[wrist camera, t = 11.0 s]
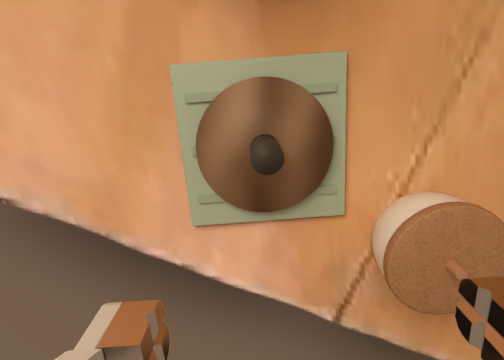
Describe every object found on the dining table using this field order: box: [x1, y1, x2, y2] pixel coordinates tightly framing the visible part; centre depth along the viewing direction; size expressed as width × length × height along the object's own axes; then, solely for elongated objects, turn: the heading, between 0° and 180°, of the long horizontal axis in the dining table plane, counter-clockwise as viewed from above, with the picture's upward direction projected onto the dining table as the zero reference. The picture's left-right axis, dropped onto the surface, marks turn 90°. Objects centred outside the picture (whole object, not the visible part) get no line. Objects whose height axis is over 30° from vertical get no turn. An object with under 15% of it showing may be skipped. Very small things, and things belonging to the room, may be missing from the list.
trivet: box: [169, 51, 347, 226], centre depth 31 cm, size 16×16×1 cm
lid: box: [196, 76, 334, 212], centre depth 28 cm, size 13×13×5 cm
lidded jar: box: [372, 191, 504, 314], centre depth 30 cm, size 11×11×9 cm
